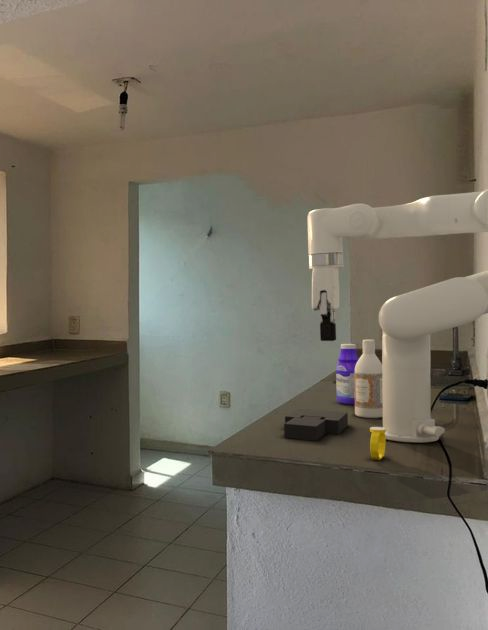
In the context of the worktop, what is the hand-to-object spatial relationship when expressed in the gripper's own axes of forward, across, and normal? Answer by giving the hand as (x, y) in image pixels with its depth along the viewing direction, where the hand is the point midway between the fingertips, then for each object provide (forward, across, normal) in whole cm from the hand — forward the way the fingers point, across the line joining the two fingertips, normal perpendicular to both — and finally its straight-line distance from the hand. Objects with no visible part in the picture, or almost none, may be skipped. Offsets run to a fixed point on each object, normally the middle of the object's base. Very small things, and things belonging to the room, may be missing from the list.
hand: (328, 340), depth 152 cm
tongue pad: (+21, +6, -4) cm, 23 cm away
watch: (+22, +23, +12) cm, 34 cm away
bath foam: (+22, -24, +6) cm, 33 cm away
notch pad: (+21, -3, -4) cm, 22 cm away
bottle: (+22, -43, -1) cm, 48 cm away
